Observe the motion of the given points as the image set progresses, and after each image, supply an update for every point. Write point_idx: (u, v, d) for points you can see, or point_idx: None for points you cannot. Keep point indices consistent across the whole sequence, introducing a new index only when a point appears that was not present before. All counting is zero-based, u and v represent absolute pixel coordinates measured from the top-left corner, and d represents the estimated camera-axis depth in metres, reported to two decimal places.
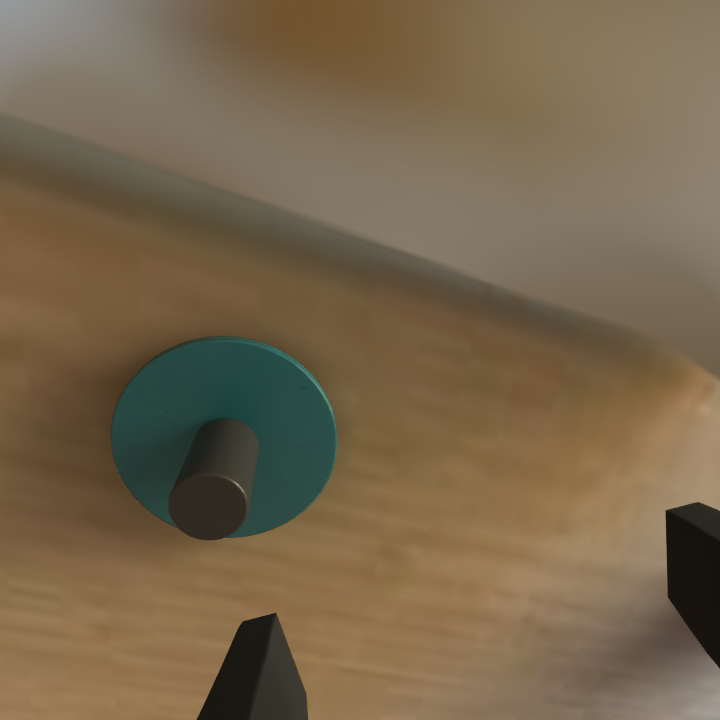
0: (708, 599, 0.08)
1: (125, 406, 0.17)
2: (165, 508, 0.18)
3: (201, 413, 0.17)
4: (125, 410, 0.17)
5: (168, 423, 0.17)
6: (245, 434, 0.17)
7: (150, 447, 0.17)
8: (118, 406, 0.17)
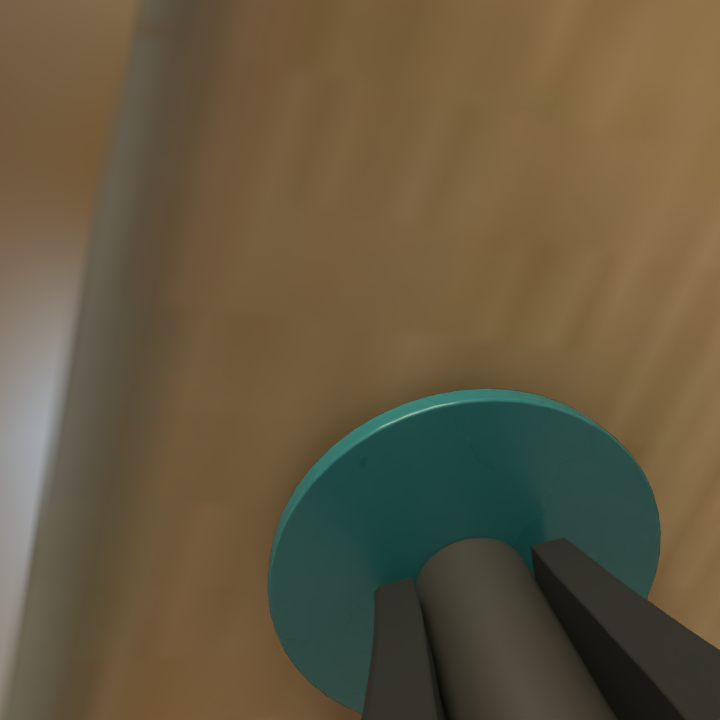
0: None
1: None
2: None
3: None
4: None
5: None
6: (442, 582, 0.09)
7: None
8: None
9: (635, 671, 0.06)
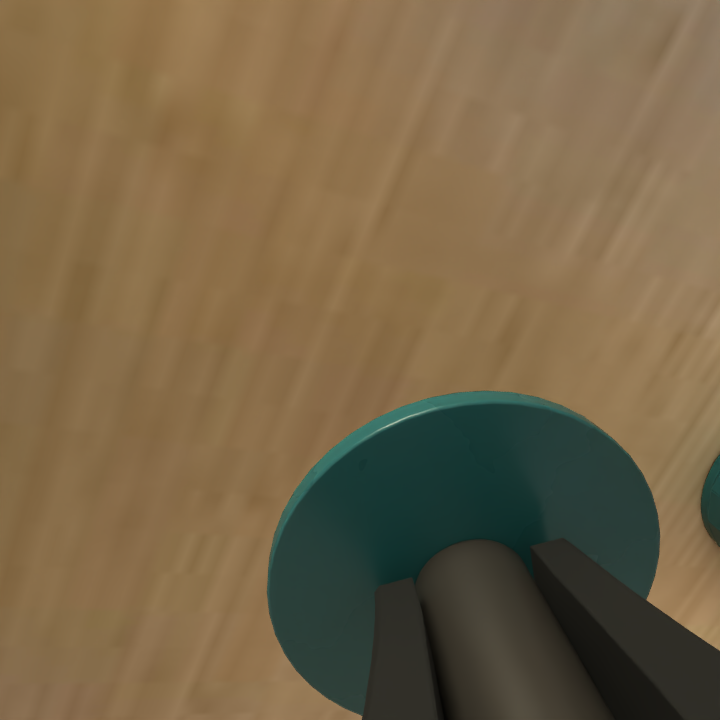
0: None
1: None
2: None
3: None
4: None
5: None
6: (441, 584, 0.09)
7: None
8: None
9: (635, 672, 0.06)
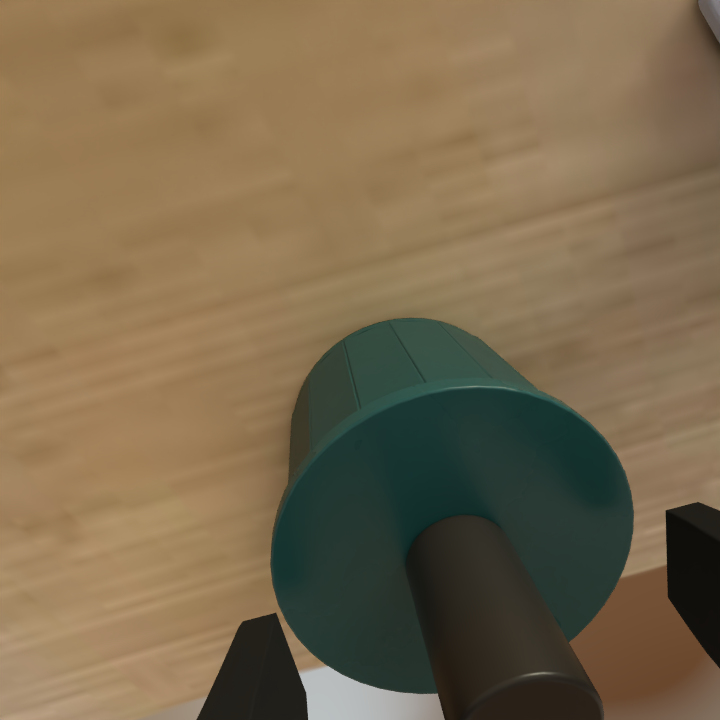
0: (708, 599, 0.08)
1: (377, 678, 0.11)
2: None
3: (396, 591, 0.11)
4: (383, 678, 0.11)
5: (409, 631, 0.11)
6: (430, 554, 0.09)
7: None
8: (377, 686, 0.11)
9: None
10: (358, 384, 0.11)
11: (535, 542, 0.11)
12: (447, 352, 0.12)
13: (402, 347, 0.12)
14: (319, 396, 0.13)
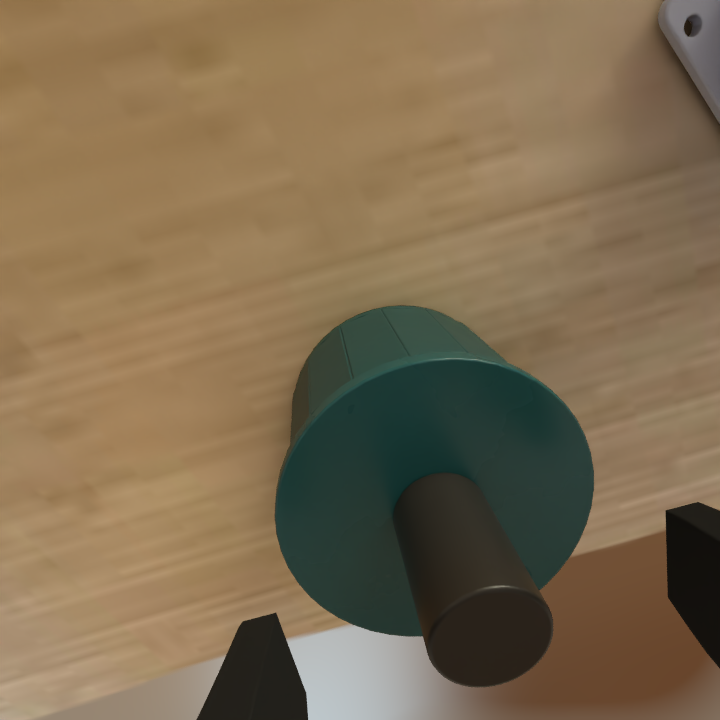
0: (708, 599, 0.08)
1: (369, 621, 0.13)
2: None
3: (385, 541, 0.12)
4: (374, 621, 0.13)
5: (397, 578, 0.12)
6: (413, 504, 0.11)
7: None
8: (368, 628, 0.13)
9: None
10: (352, 360, 0.13)
11: (507, 498, 0.12)
12: (431, 333, 0.13)
13: (392, 329, 0.14)
14: (318, 373, 0.14)
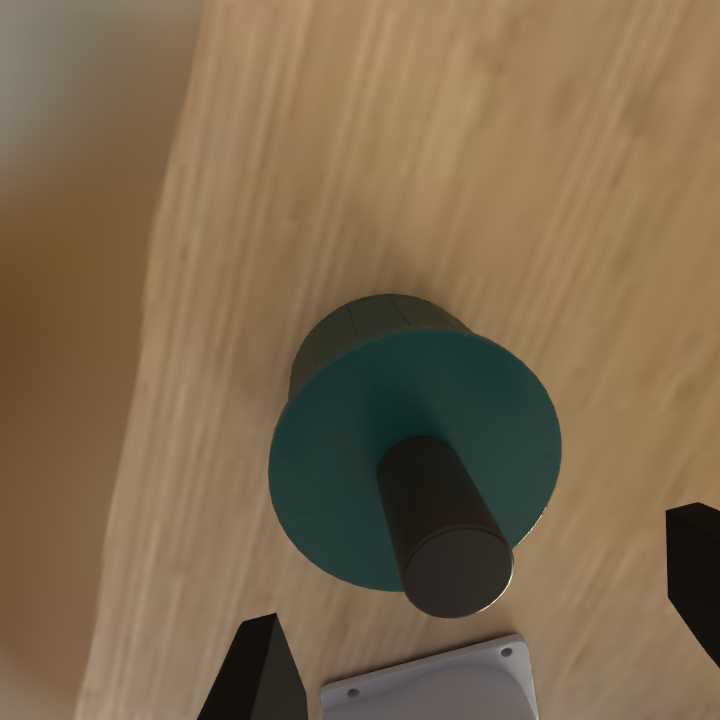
0: (708, 599, 0.08)
1: (347, 364, 0.12)
2: (293, 506, 0.13)
3: (422, 421, 0.13)
4: (343, 368, 0.12)
5: (378, 412, 0.12)
6: None
7: (335, 427, 0.12)
8: (339, 359, 0.12)
9: None
10: None
11: None
12: None
13: None
14: None
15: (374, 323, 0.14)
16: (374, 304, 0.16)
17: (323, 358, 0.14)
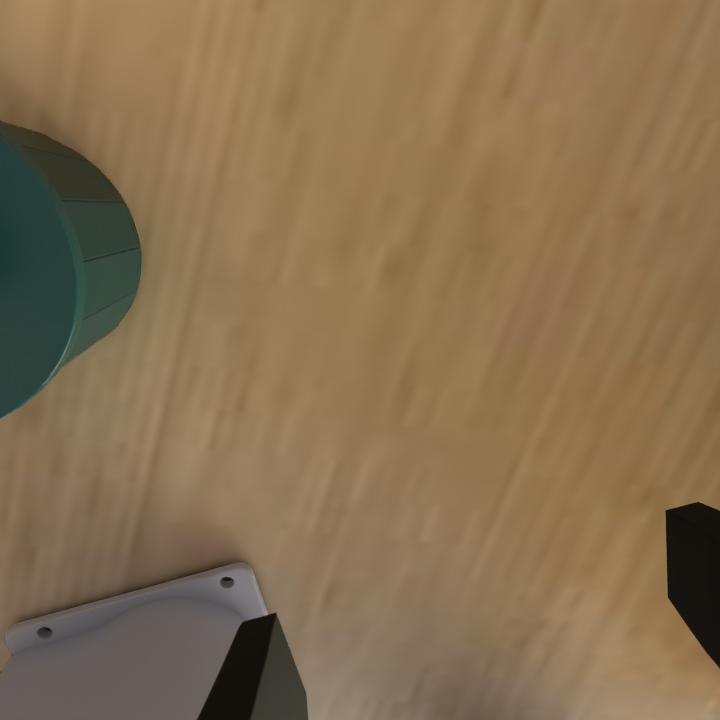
0: (708, 599, 0.08)
1: None
2: None
3: None
4: None
5: None
6: None
7: None
8: None
9: None
10: (100, 261, 0.13)
11: None
12: (90, 336, 0.14)
13: (112, 302, 0.14)
14: (102, 214, 0.14)
15: None
16: None
17: None
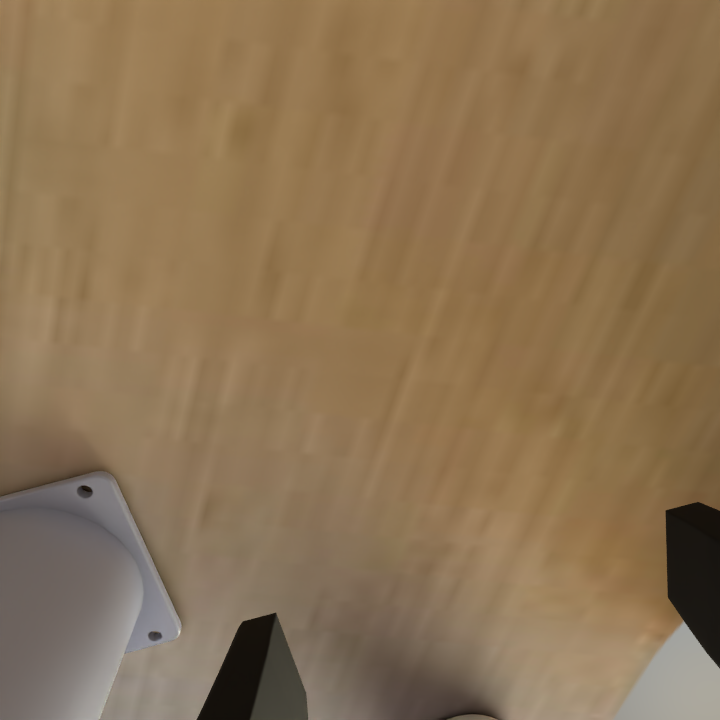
0: (708, 599, 0.08)
1: None
2: None
3: None
4: None
5: None
6: None
7: None
8: None
9: None
10: None
11: None
12: None
13: None
14: None
15: None
16: None
17: None
